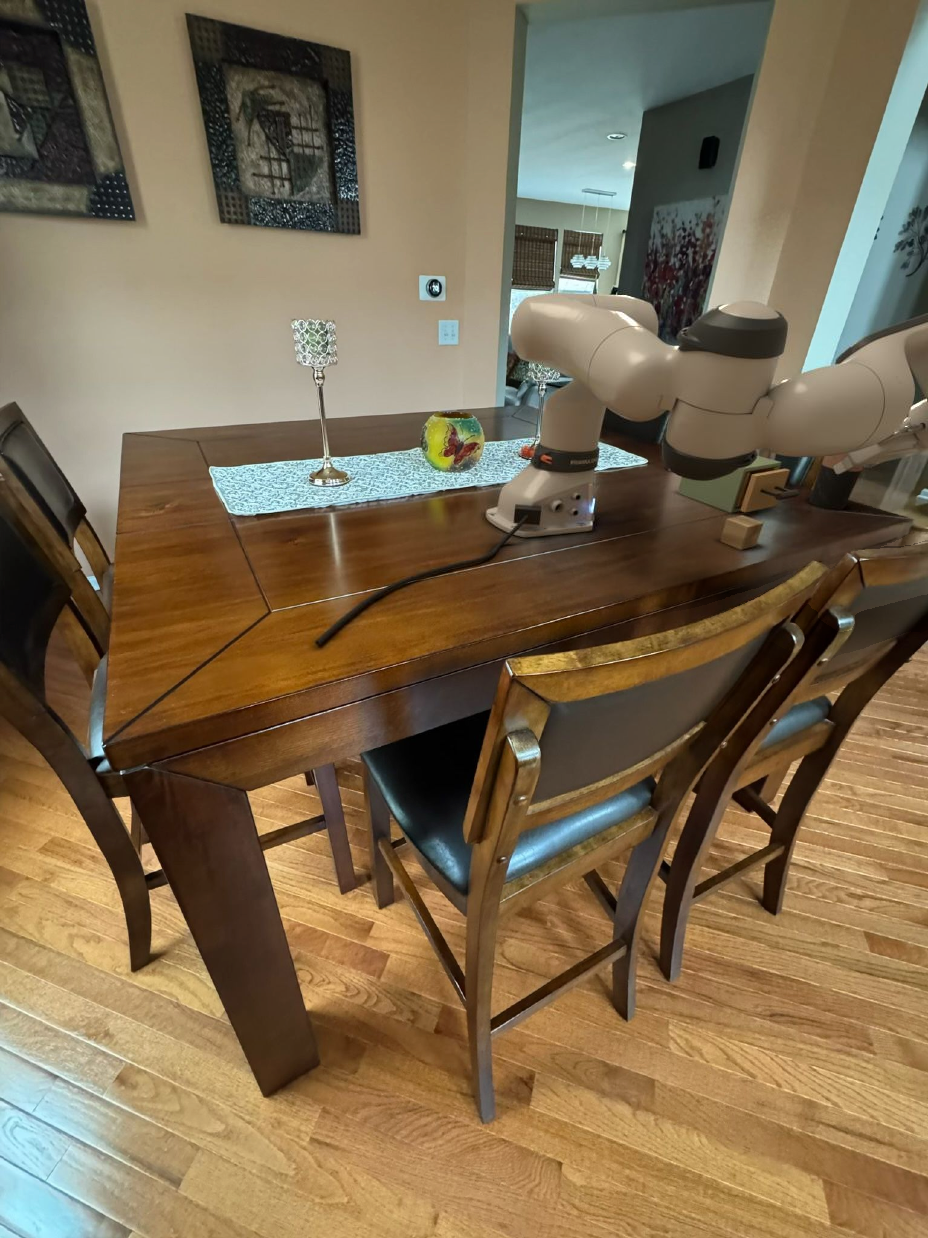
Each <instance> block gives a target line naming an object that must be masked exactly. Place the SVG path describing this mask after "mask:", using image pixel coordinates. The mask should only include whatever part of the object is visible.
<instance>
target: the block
mask: <svg viewBox="0 0 928 1238" xmlns="http://www.w3.org/2000/svg"><path fill="white" fill-rule="evenodd" d="M763 527H764V523H763V522H762V521H759V520H756V519H754V518H751V517H749V516H745V515H743V514H741V515H738V516H733V517H729V518H726V521H725V524H724V527H723V529H722V533H721V537H720V539H719V542H721V543H723V544H726V545H728V546H730V547H733V548H735V549H737V550H739V551H742V550H744V549H749V548H753V547H756V546H757V543H758V542H759V541H758V540H759V537H760V535H761V532H762V529H763Z"/></svg>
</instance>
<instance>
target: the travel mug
mask: <svg viewBox="0 0 928 1238" xmlns="http://www.w3.org/2000/svg"><path fill="white" fill-rule="evenodd" d="M846 457H847V453H845V454H838V455H832V456H823V460H822V461H821V465H820V468H819V471H818V473H817V475H816V480H815V482H814V485H813V488H812V491H811V494H810V497H809V501H808V502H809V503H810V504H811V505H813V506H815V507H818V508H822V509H826V510H834V511H835V510H837V511H838V510H839V511H840V510H844V508H845V507H846V505H847V503H848V501H849V499H850V496H851V494H852V493H853V490H854V488H855V486H856V483H857V481H858V479H859V477H860V475H861V474H862V471H863V469H864V467H863V466H859V467H853V468H851V469H850V470H848V471H846V472H844V473H842V474H836V473H835V470H834V468H833V467H834V465H836V464H838V463H840V462H842V461H843V460H844V459H845V458H846Z"/></svg>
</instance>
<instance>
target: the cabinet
mask: <svg viewBox="0 0 928 1238" xmlns="http://www.w3.org/2000/svg"><path fill="white" fill-rule="evenodd" d="M781 465H782V461H778V460H776V459H775V460H771V459H768V458H764V457H760V456H757V458H756V460H755V461H754V462H753V463H752V464H751V465H749V466H747V467H744V468H738V469H737V470H736V471H734V472H733V473H731V474H729V475H726V476H723V477H721V478H717V479H714V480H709V481H697V480H691V479H687V478H684V477H681V478H680V483H679V486H678V490H677V494H679V495H681V496H684V497H687V498H690V499H693V500H695V501H698V502H701V503H702V504H703V503H704V504H705V505H708V506H711V507H714V508H717V509H719V510H723V511H725V512H727V513H730V514H733V513H736V512H741V511H740V510H741V507H742V506H740V507H736V506H735V505H736V502H737V499H738V496H739V492H740V489H741V486H742V483H743V480H744V476H745V473H746V472H748V471H754V470H759V469H765V468H771V467H774V468H777V470H780V468H781Z"/></svg>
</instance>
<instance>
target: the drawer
mask: <svg viewBox="0 0 928 1238" xmlns="http://www.w3.org/2000/svg"><path fill="white" fill-rule="evenodd" d="M790 472H791V470H790V469H788V468H781V469H780V468H779V470H777V468H774V467H771V468H765V469H759V470H754V471H748V472H746V473H745V476H744V480H743V483H742V486H741V489H740V492H739V496H738V499H737V502H736V505H735V506H736V507H740V506H742V507H741V510H740V511H739V512H743V513H750V512H754V511H757V510H763V509H766V508H771V507H776V506H778V505H779V503H780V501H781V500H785V499H791V498H795V497H798V496H799V494H800V491H799V490H798V489H792V490H791V489H788V488H785V486H786V483H787V480H788V478H789V474H790Z"/></svg>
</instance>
